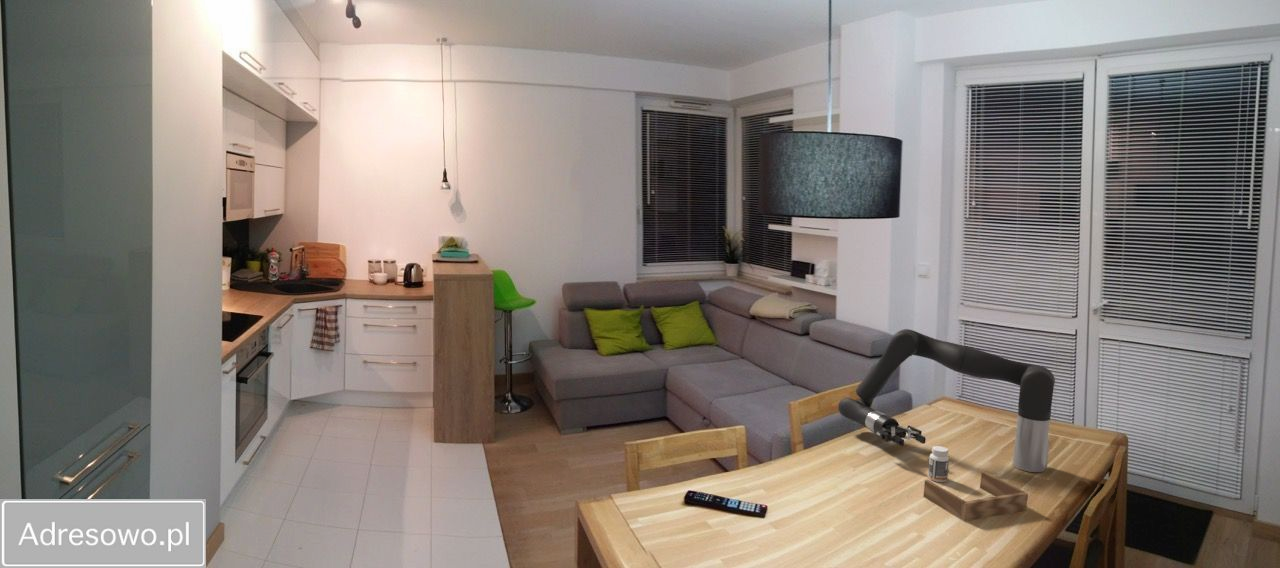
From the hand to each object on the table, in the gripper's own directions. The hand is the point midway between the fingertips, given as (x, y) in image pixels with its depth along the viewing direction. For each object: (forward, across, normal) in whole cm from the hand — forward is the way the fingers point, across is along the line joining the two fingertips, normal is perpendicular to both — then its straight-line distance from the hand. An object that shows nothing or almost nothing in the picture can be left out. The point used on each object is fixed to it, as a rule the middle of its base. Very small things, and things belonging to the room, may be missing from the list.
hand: (913, 441), depth 235 cm
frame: (+28, -2, +8) cm, 29 cm away
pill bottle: (+12, 0, +8) cm, 14 cm away
